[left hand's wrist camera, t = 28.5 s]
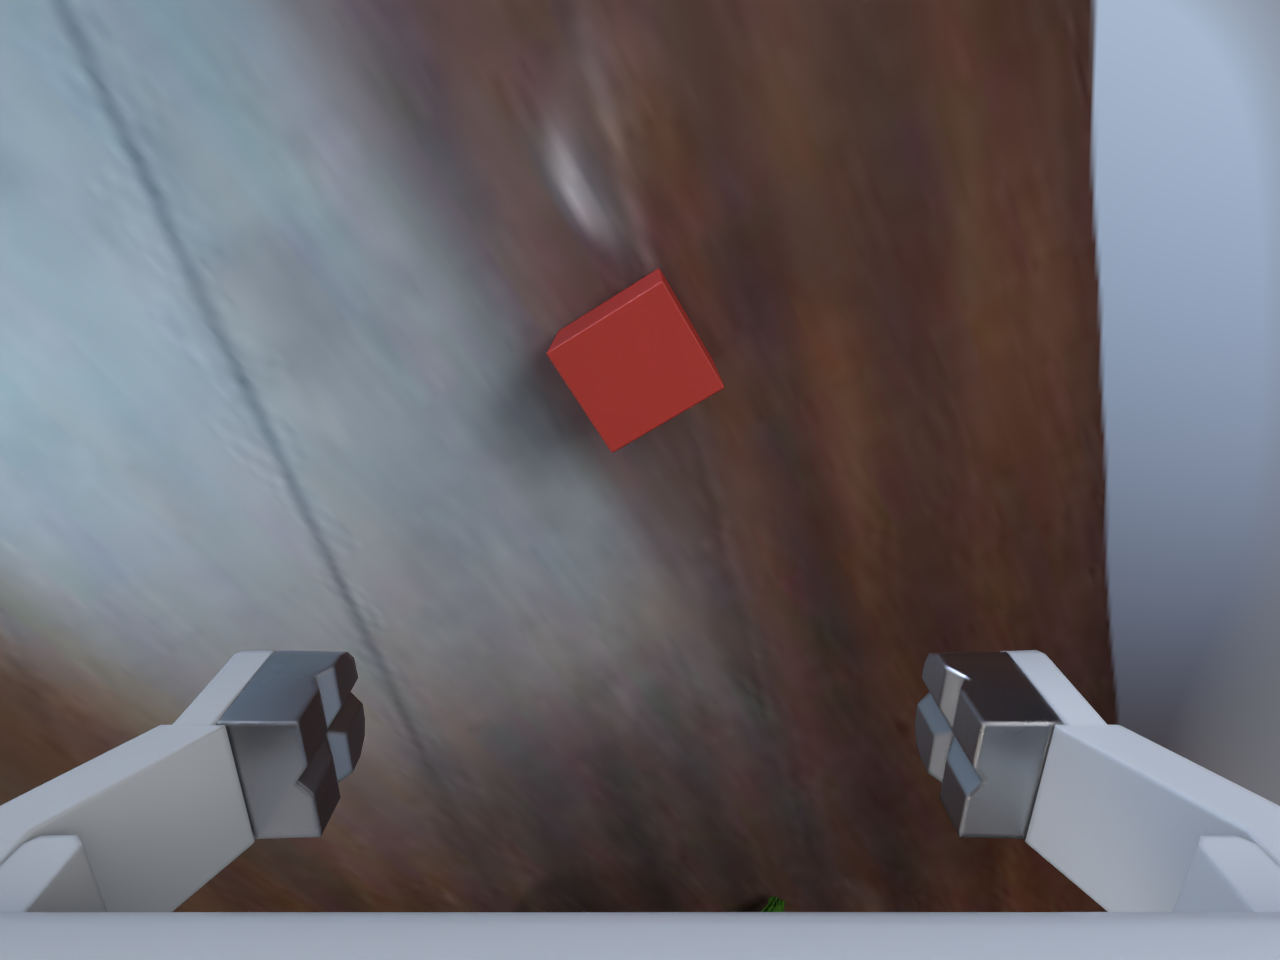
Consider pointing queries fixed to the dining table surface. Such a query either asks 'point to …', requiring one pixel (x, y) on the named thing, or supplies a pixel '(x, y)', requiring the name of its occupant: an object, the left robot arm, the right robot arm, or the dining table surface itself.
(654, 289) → the block
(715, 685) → the dining table surface
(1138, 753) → the left robot arm
